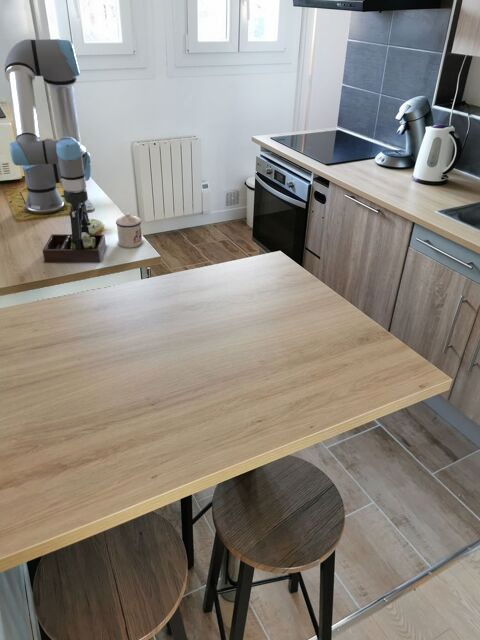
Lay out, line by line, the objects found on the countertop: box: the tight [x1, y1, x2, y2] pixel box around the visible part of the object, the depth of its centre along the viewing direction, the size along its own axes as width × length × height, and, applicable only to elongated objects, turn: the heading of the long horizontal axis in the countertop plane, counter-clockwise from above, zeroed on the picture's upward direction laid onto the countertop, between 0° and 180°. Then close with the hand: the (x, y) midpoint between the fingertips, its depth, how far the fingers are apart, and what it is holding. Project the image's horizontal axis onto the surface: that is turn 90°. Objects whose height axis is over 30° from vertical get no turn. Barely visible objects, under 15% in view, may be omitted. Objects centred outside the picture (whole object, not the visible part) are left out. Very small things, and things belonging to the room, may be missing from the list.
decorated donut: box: [88, 218, 105, 235], centre depth 200 cm, size 10×11×4 cm
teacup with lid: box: [115, 212, 143, 248], centre depth 192 cm, size 12×9×12 cm
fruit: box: [68, 232, 96, 249], centre depth 182 cm, size 9×9×8 cm
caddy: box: [42, 233, 107, 263], centre depth 184 cm, size 13×19×5 cm
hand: (84, 249), depth 184 cm, fingers closed on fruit, 10 cm apart
